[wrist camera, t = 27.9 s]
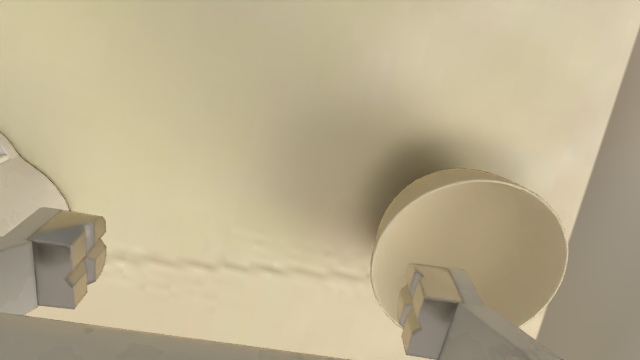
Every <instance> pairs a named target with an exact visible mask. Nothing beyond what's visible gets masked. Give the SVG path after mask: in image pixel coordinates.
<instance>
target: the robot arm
mask: <svg viewBox="0 0 640 360" xmlns="http://www.w3.org/2000/svg"><path fill="white" fill-rule="evenodd" d="M105 232H106V222H105V219H104V218H103V216H97V215H91V214H85V213H79V212H73V211H69V208H68V206H67V204H66V202H65V200H64V198H63V196H62V195H61V193H60V192H59V191H58V189H57V188H56V187H55V185H54V184H53V183H52V182H51V181H50V180H49V179H48V178H47V177H46V176H45V175H44V174H42V173H41V172H40V171H39V170H37V169H36V168H34V167H33V166H32V165H30V164H29V163H27V162H26V161H25V160H24V159H23V158H21V157H20V156H19V154H18V153H17V152H16V150H15V149H14V147H13V146H12V145H11V143H10V142H9V141H8V140H7V139H6V137H5V136H4V135H3V134H1V133H0V360H350V359H342V358H335V357H328V356H320V355H313V354H305V353H298V352H290V351H283V350H275V349H268V348H261V347H253V346H246V345H238V344H231V343H223V342H216V341H209V340H201V339H194V338H186V337H179V336H171V335H164V334H157V333H149V332H142V331H134V330H127V329H120V328H112V327H105V326H97V325H90V324H82V323H75V322H68V321H60V320H53V319H45V318H38V317H30V316H23V315H24V314H26V313H28V312H30V311H32V310H33V309H35V308H37V307H38V305H39V306H48V307H57V308H66V309H75V308H76V306H77V305H78V304H79V302H80V301H81V300H82V299H83V297H84V296H85V295H86V293H87V285H88V284H91V283H93V282H95V281H96V280H97V279H98V277H99V276H100V275H101V272H102V270H103V267H104V265H105V260H106V245H105V244H104V243H103V241H102V240H101V239H100V238H101V237H102V236H103V235H104V234H105ZM405 279H406V283H407V285H406V286H404V287H403V288H402V289H401V290H400V294H399V298H398V305H397V318H398V322H399V325H400V326H401V327H403V328H404V329H403V333H402V340H403V344H404V349H405V353H406V355H411V356H417V357H423V358H429V359H435V360H562V359H561V358H559V357H558V356H557V355H555V354H554V353H553V352H551V351H550V350H548V349H547V348H546V347H544V346H543V345H541V344H540V343H539V342H537V341H536V340H535V339H533V338H532V337H530V336H529V335H528V334H526V333H525V332H524V331H522V330H521V329H519V328H518V327H517V326H515V325H514V324H512V323H511V322H510V321H508V320H507V319H506V318H504V317H503V316H501V315H500V314H499V313H497V312H496V311H494V310H493V309H492V308H490V307H485V306H484V305H483V303H482V301H481V299H480V297H479V295H478V293H477V291H476V289H475V287H474V285H473V283H472V281H471V279H470V277H469V275H468V273H467V272H466V271H465V270H464V269H456V268H447V267H439V266H431V265H422V264H414V263H410V264H409V265H408V267H407V270H406V273H405Z"/></svg>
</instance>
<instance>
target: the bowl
mask: <svg viewBox="0 0 640 360" xmlns="http://www.w3.org/2000/svg"><path fill="white" fill-rule="evenodd" d="M567 261H568V243H567V237H566V233H565V230H564V227H563V225H562V223H561V220H560V219H559V217H558V216H557V214H556V212H555V211H554V210H553V209H552V208H551V206H550V205H549V204H548V203H546V202H545V201H544V200H543V199H542V198H541V197H539V196H538V195H537V194H535V193H534V192H532V191H530V190H528V189H526V188H525V187H523V186H520V185H518V184H516V183H514V182H511V181H509V180H507V179H504V178H502V177H499V176H497V175H494V174H491V173H488V172H484V171H480V170H474V169H467V168H455V169H446V170H441V171H437V172H433V173H430V174H428V175H425V176H423V177H421V178H419V179H417V180H415V181H414V182H412V183H411V184H409V185H408V186H407V187H405V188H404V189H403V190H402V191H401V192H400V193H399V194H398V195H397V196H396V197H395V198H394V199H393V201H392V202H391V203H390V205H389V206H388V208H387V210H386V211H385V213H384V215H383V218H382V220H381V222H380V225H379V228H378V232H377V235H376V239H375V244H374V249H373V253H372V259H371V271H370V272H371V283H372V287H373V291H374V294H375V297H376V299H377V301H378V303H379V305H380V306H381V308H382V310H383V311H384V312H385V314H386V315H387V316H388V317H389V318H390V319H391V320H392V321H393V322H394V323H395V324H396V325H398V326H399V327H400V328H402V329H404V328H403V327H401V326H400V325H399V322H398V318H397V305H398V298H399V294H400V290H401V289H402V288H403V287H404V286H406V285H407V283H406V279H405V273H406V270H407V267H408V265H409V264H410V263H414V264H422V265H431V266H439V267H447V268H456V269H464V270H465V271H466V272H467V273H468V275H469V277H470V279H471V281H472V283H473V285H474V287H475V289H476V291H477V293H478V295H479V297H480V299H481V301H482V303H483V305H484V306H485V307H490V308H492V309H493V310H494V311H496V312H497V313H499V314H500V315H501V316H503V317H504V318H506V319H507V320H508V321H510V322H511V323H512V324H514V325H515V326H517V327H518V328H519V327H521V326H523V325H524V324H526V323H527V322H529V321H530V320H531V319H532V318H534V317H535V316H536V315H537V314H538V313H540V312H541V311H542V310H543V309H544V308H545V306H546V305H547V304H548V303H549V302H550V300H551V299H552V298H553V296H554V295H555V293H556V292H557V290H558V288H559V286H560V284H561V282H562V279H563V277H564V274H565V271H566V266H567Z"/></svg>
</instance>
